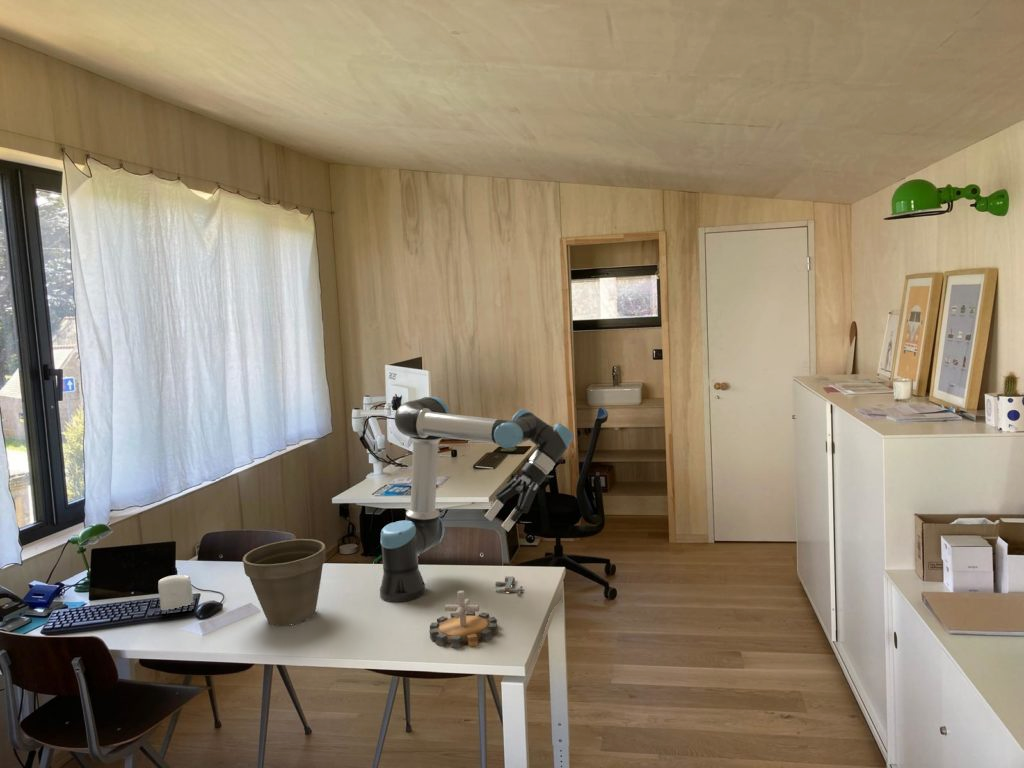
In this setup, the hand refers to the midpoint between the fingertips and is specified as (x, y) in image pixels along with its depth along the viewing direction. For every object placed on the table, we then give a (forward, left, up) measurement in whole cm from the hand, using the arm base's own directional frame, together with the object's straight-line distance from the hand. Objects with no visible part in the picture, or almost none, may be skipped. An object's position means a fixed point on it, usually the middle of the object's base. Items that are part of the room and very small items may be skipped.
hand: (495, 523), depth 234 cm
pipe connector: (+1, -18, -26) cm, 31 cm away
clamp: (-11, +16, -28) cm, 34 cm away
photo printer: (-93, -57, -28) cm, 112 cm away
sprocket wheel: (+1, -18, -28) cm, 33 cm away
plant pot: (-55, -39, -28) cm, 73 cm away
